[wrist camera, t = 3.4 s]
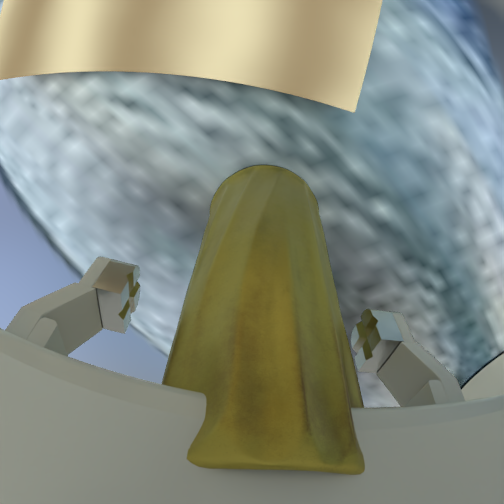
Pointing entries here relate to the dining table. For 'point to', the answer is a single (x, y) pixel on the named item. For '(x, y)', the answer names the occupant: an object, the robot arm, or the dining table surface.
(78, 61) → the hole block
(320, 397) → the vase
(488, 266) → the dining table surface
